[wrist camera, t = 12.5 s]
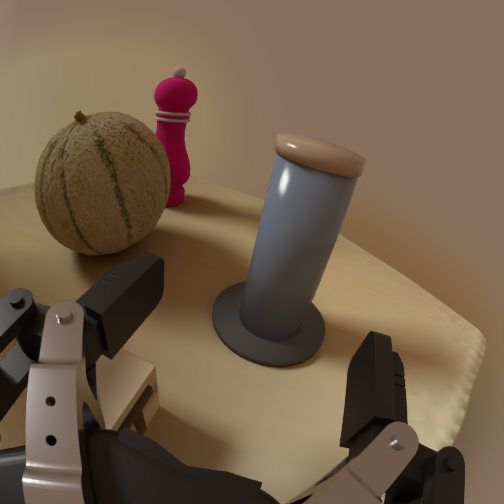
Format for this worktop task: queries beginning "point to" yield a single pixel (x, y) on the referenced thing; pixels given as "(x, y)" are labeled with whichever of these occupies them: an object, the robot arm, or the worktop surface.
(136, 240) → the cantaloupe
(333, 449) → the worktop surface
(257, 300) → the canister
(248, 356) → the coaster
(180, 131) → the pepper mill
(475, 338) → the worktop surface
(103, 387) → the t block
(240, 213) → the worktop surface
